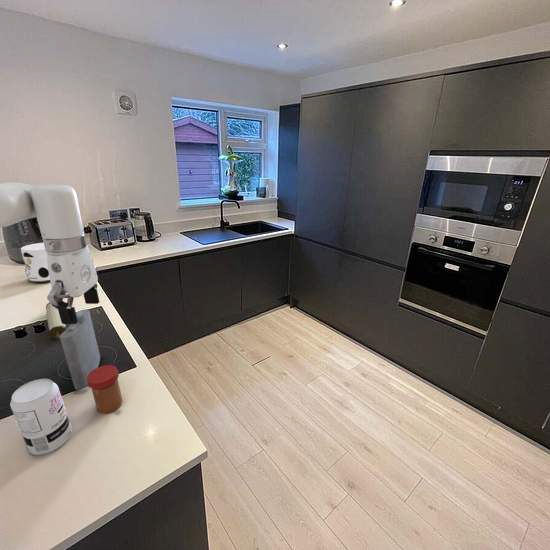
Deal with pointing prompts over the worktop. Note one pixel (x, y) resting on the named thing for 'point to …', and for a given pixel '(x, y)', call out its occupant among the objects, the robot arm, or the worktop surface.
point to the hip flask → (80, 349)
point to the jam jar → (108, 398)
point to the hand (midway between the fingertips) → (82, 312)
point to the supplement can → (41, 415)
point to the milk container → (35, 262)
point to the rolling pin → (54, 322)
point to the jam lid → (102, 377)
